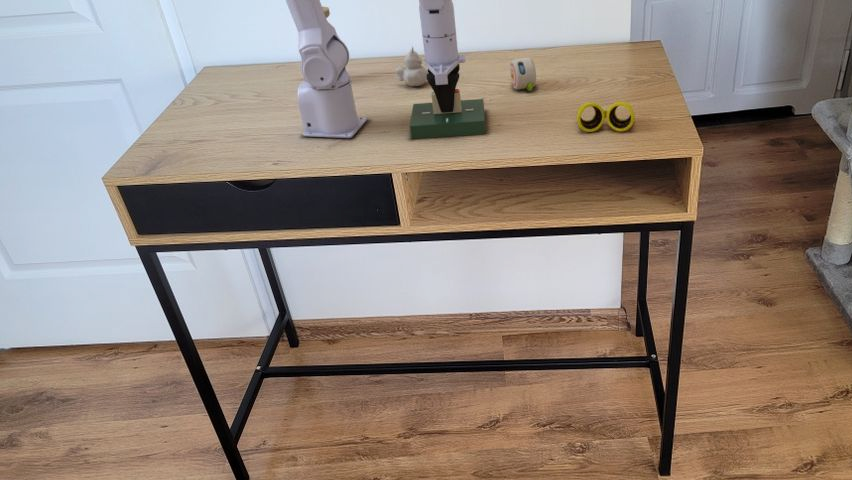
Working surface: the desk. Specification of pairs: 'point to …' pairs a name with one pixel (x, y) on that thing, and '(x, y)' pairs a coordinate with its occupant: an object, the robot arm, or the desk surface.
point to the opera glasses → (602, 114)
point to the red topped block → (456, 103)
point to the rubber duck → (412, 70)
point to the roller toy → (523, 73)
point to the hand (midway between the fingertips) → (447, 109)
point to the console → (448, 120)
